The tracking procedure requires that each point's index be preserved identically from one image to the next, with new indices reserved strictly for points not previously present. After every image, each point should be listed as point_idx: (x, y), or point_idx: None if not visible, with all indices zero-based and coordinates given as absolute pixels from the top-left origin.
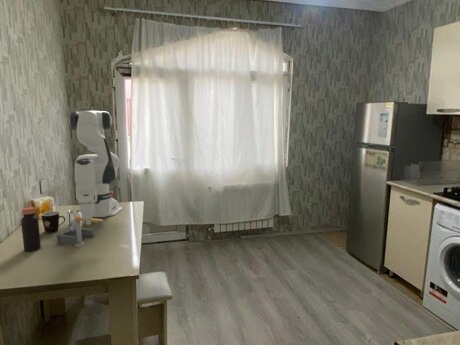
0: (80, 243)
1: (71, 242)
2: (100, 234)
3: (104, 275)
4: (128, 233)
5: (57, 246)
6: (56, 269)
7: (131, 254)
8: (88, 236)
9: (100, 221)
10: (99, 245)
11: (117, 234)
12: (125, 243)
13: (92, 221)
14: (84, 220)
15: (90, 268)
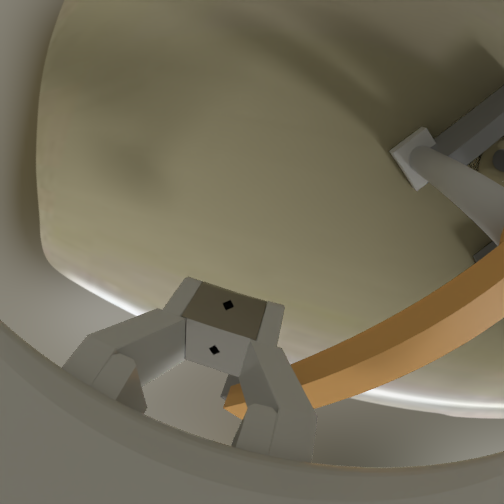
0: (410, 160)
1: (463, 123)
2: None
3: (40, 188)
4: None
5: (469, 51)
6: (130, 14)
7: (149, 310)
8: (493, 242)
9: (229, 396)
10: (335, 248)
11: None
12: None
13: (313, 360)
14: (429, 304)
15: (82, 150)
